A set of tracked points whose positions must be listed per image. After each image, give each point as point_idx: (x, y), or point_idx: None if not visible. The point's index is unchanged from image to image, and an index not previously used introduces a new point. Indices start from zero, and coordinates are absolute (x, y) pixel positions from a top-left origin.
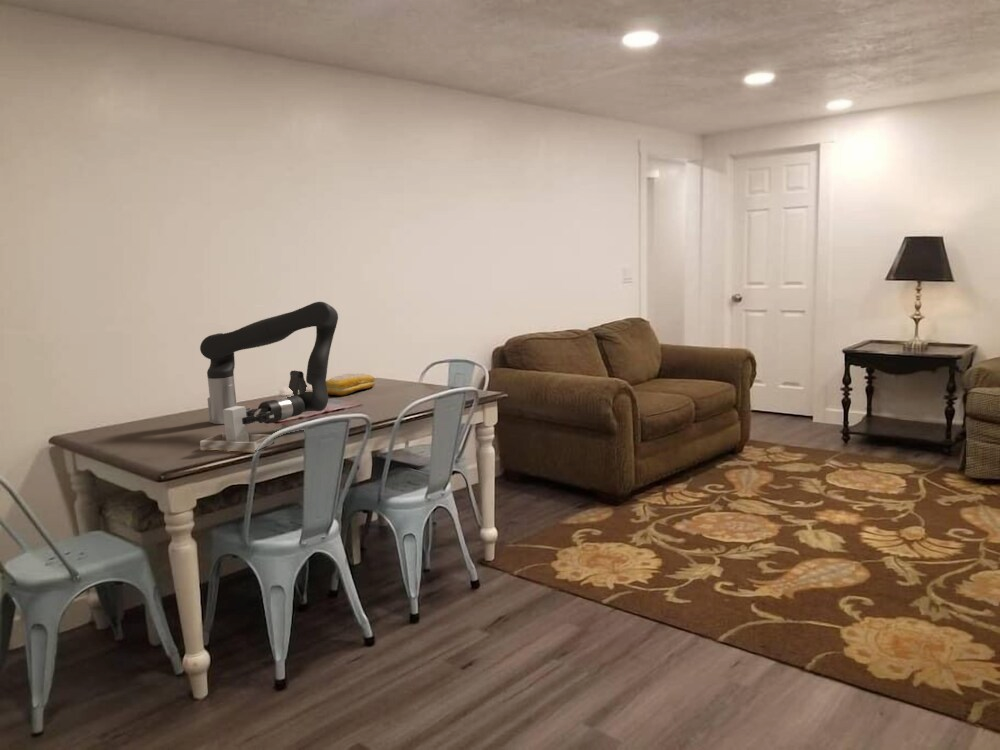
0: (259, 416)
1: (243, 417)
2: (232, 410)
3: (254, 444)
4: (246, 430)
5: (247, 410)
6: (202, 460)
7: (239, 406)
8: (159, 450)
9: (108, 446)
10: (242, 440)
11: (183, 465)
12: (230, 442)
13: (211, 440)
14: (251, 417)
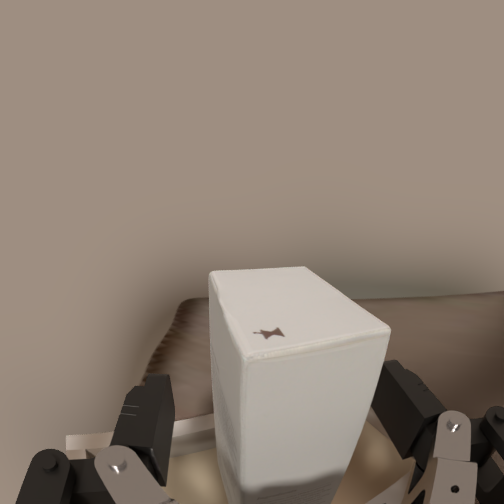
0: (50, 454)
1: (228, 417)
2: (209, 275)
3: (68, 440)
4: (235, 500)
5: (428, 495)
6: (199, 357)
7: (314, 328)
8: (424, 339)
9: (499, 303)
10: (225, 490)
11: (205, 326)
12: (203, 415)
13: (373, 411)
14: (136, 438)
